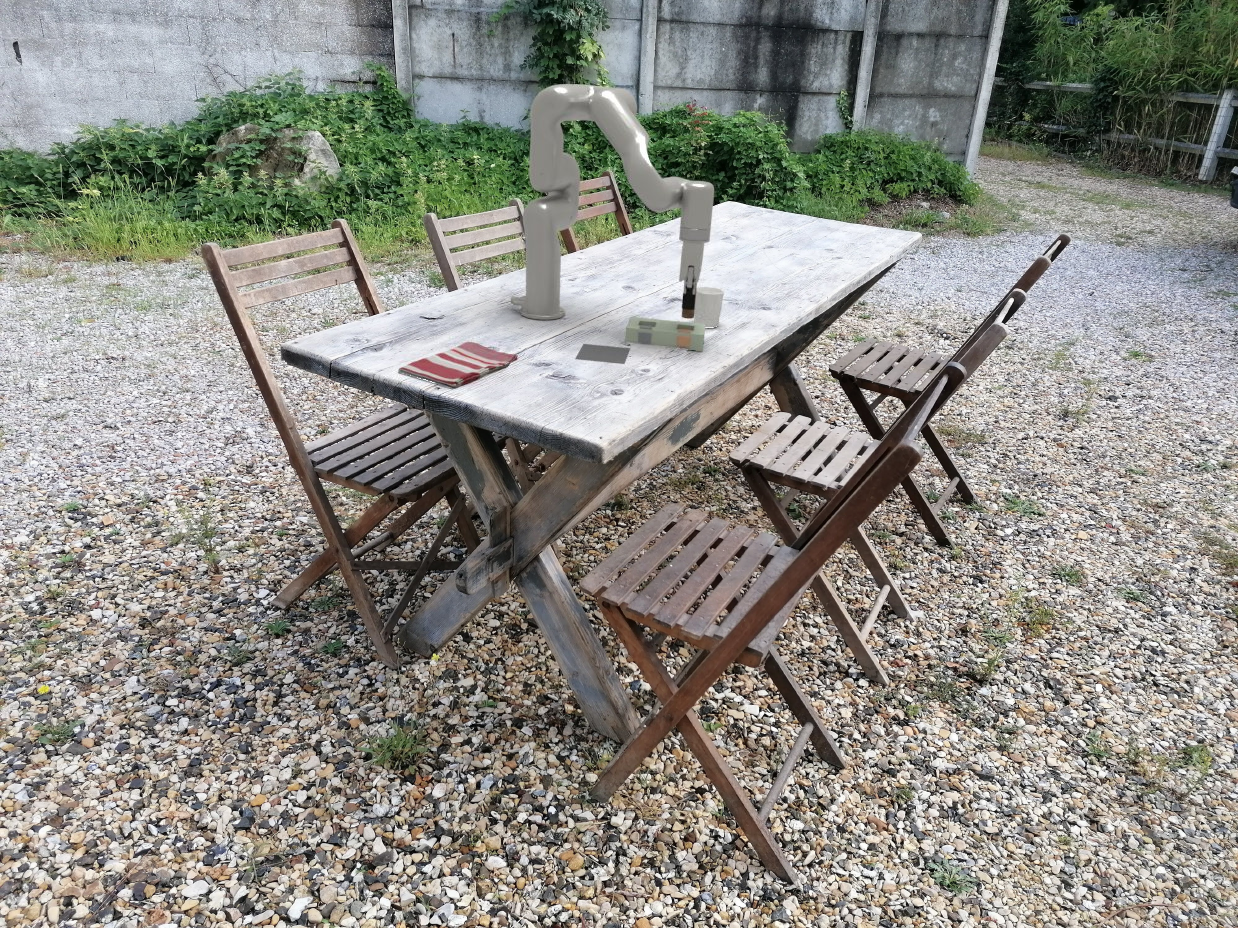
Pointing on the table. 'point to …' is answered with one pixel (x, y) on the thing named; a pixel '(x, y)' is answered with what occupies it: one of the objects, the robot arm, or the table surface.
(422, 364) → the dish towel
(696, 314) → the white cup
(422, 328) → the table surface
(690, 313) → the dowel
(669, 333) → the socket block
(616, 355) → the mat
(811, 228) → the table surface
